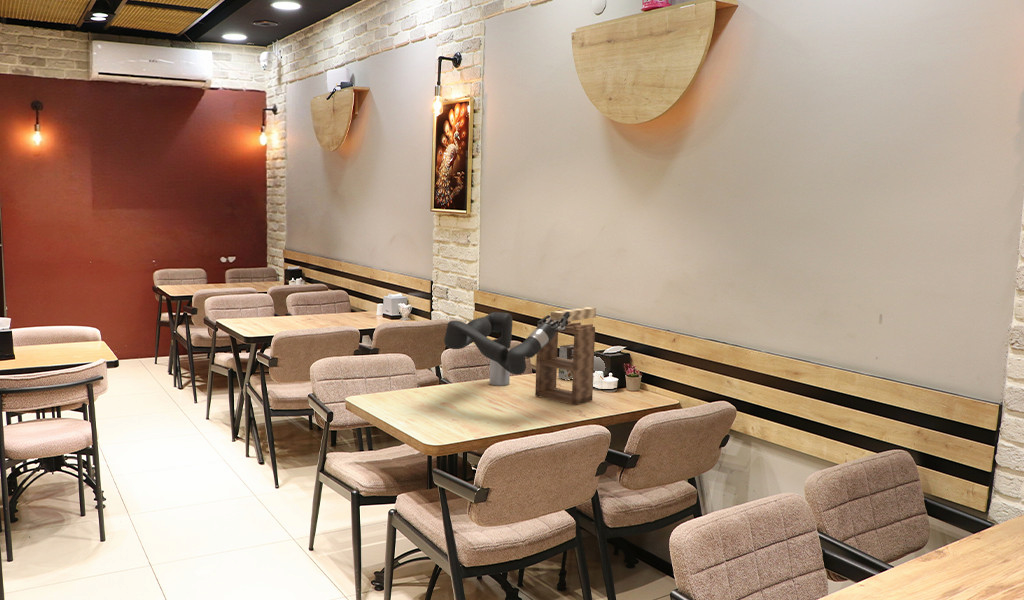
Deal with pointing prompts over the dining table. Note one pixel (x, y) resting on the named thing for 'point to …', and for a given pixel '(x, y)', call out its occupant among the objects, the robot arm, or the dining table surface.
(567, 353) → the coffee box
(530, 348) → the robot arm
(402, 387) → the dining table surface
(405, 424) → the dining table surface
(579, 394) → the walnut shelf
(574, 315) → the beech bar
